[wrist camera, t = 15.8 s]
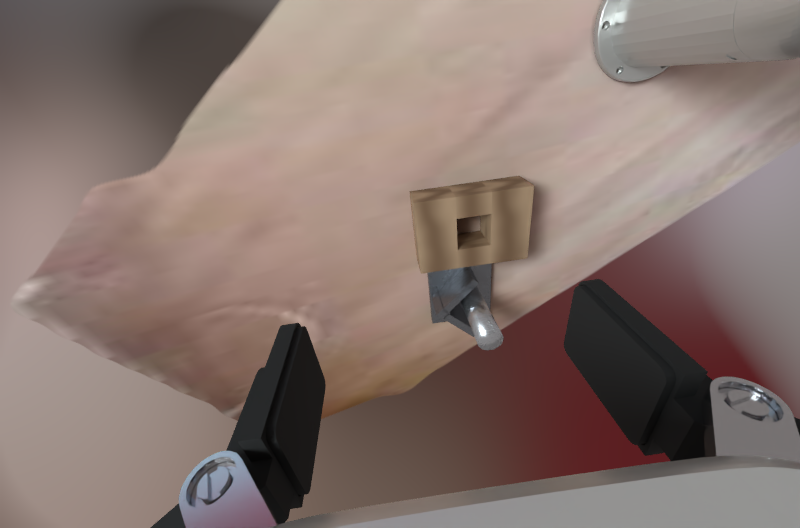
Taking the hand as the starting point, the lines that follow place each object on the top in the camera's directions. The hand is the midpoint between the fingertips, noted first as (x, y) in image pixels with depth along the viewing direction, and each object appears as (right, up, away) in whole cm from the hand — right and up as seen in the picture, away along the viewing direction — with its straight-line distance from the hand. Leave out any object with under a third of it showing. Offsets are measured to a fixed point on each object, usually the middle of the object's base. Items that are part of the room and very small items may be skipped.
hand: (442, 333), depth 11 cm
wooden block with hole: (+9, +9, +37) cm, 40 cm away
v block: (+9, -2, +44) cm, 45 cm away
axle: (+10, -2, +43) cm, 44 cm away
